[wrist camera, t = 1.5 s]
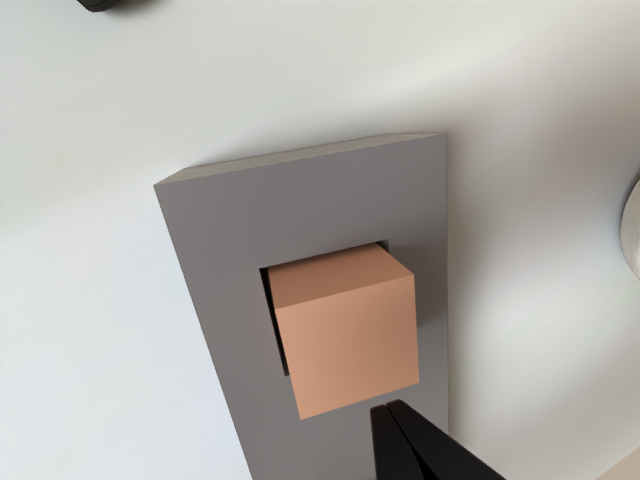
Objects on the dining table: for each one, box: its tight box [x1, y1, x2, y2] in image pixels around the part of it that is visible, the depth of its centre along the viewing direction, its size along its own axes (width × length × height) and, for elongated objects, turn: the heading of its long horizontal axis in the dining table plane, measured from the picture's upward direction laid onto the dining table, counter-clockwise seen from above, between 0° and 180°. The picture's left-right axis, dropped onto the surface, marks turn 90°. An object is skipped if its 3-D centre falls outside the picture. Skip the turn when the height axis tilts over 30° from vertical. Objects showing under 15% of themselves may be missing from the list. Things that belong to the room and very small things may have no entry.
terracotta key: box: [268, 242, 419, 420], centre depth 12 cm, size 4×4×4 cm
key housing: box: [153, 133, 449, 480], centre depth 17 cm, size 25×10×5 cm, turn 9°
